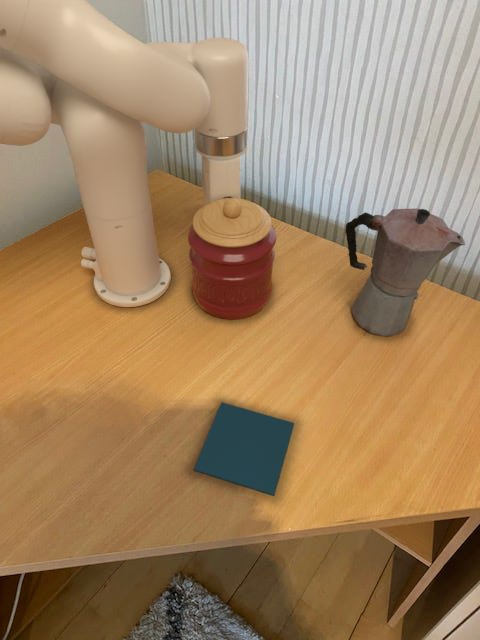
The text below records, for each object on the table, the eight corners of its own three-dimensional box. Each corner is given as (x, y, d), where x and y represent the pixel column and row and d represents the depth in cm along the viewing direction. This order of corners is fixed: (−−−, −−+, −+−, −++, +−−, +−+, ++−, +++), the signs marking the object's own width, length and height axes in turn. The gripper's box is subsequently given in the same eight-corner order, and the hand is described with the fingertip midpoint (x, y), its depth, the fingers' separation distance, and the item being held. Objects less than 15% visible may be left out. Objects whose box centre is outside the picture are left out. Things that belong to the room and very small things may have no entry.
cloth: (193, 470, 57) (193, 469, 57) (221, 403, 64) (221, 402, 63) (274, 496, 55) (274, 494, 55) (294, 424, 62) (294, 422, 61)
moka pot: (429, 347, 71) (481, 239, 56) (325, 331, 73) (349, 222, 58) (425, 303, 77) (470, 196, 63) (330, 289, 79) (353, 182, 65)
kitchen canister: (275, 320, 74) (285, 227, 61) (192, 323, 73) (184, 229, 60) (266, 265, 83) (273, 174, 70) (192, 268, 82) (185, 176, 69)
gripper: (189, 117, 73) (196, 217, 86) (201, 166, 63) (207, 270, 76) (237, 113, 74) (237, 213, 87) (257, 161, 64) (253, 265, 77)
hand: (223, 239), depth 82 cm, fingers closed
